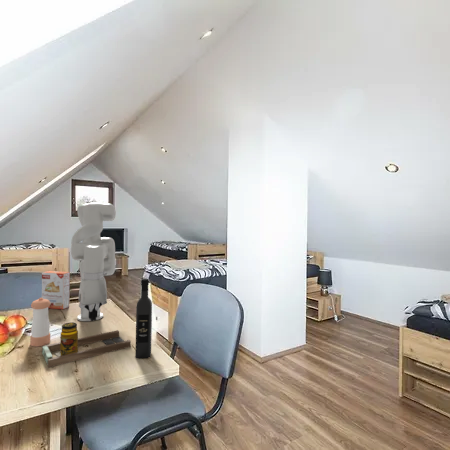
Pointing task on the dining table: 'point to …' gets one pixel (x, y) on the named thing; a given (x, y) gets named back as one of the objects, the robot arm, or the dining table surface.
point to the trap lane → (75, 356)
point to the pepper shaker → (40, 323)
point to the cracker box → (56, 288)
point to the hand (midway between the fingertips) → (92, 319)
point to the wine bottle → (143, 323)
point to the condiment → (68, 339)
